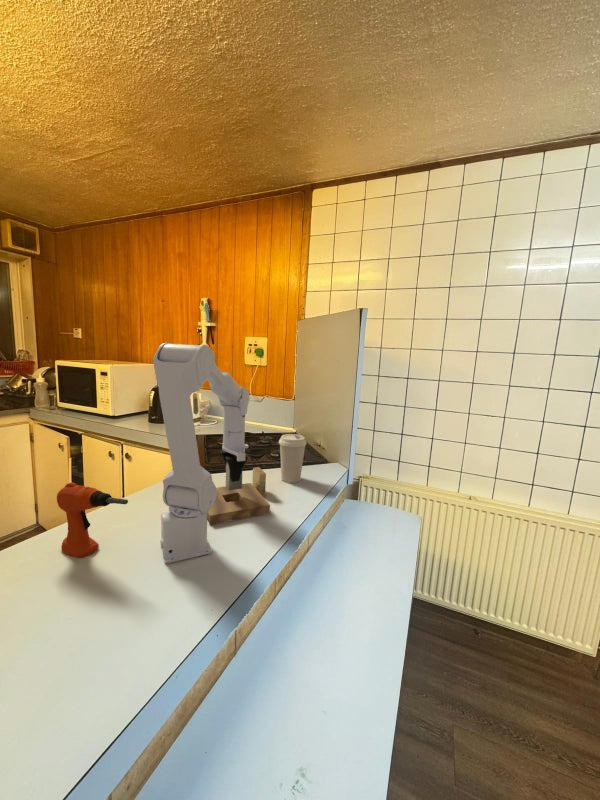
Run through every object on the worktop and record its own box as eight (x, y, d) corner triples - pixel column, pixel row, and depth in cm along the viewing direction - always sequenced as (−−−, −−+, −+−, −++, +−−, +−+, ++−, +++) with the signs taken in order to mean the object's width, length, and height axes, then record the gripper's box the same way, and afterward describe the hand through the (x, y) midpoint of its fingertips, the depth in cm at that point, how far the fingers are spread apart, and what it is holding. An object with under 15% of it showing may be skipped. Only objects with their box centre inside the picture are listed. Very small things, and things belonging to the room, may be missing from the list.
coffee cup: (302, 486, 109) (304, 441, 107) (274, 482, 111) (276, 439, 108) (306, 475, 118) (308, 434, 116) (280, 472, 120) (282, 432, 118)
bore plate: (209, 525, 82) (209, 515, 82) (197, 498, 96) (197, 490, 96) (269, 513, 90) (269, 504, 89) (250, 490, 104) (250, 482, 103)
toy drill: (124, 568, 63) (114, 492, 61) (56, 555, 69) (45, 485, 68) (144, 554, 67) (135, 482, 66) (78, 543, 74) (69, 477, 72)
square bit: (229, 490, 90) (229, 465, 89) (225, 485, 93) (226, 461, 92) (241, 488, 92) (242, 464, 91) (238, 483, 95) (238, 460, 94)
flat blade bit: (258, 496, 100) (259, 474, 99) (252, 488, 105) (252, 467, 104) (265, 495, 101) (265, 473, 100) (258, 487, 106) (258, 467, 105)
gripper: (257, 435, 85) (255, 486, 87) (240, 423, 98) (239, 467, 100) (230, 438, 82) (229, 490, 84) (216, 425, 95) (215, 470, 97)
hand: (233, 478), depth 92 cm, fingers closed on square bit, 4 cm apart
